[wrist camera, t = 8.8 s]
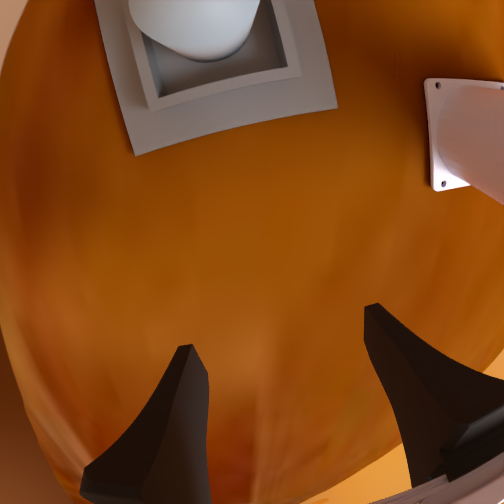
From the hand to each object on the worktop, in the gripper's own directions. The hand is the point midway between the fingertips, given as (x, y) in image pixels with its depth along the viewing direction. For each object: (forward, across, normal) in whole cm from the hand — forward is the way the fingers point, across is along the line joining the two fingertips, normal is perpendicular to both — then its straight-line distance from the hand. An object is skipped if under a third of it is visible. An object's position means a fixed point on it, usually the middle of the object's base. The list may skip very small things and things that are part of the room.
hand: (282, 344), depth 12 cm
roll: (+9, 0, -14) cm, 16 cm away
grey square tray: (+9, 0, -14) cm, 16 cm away
